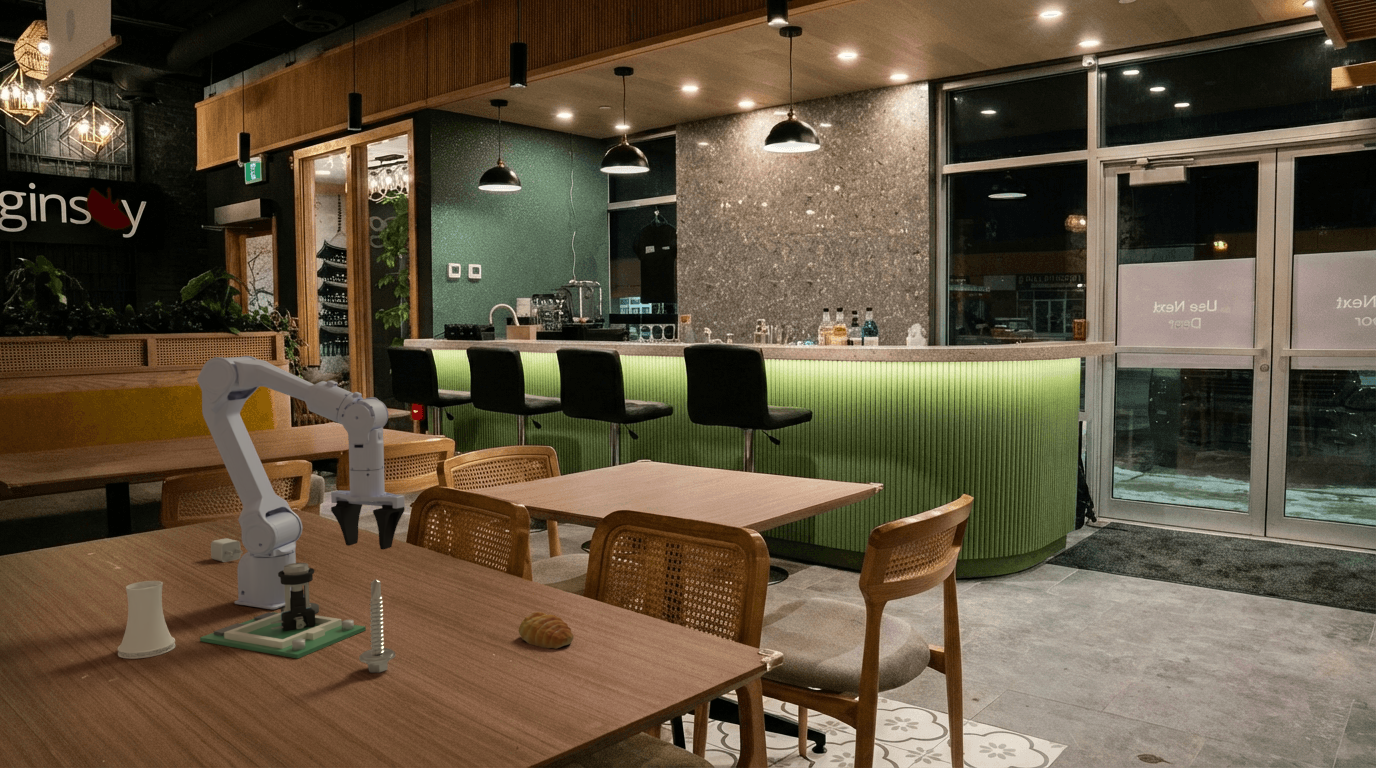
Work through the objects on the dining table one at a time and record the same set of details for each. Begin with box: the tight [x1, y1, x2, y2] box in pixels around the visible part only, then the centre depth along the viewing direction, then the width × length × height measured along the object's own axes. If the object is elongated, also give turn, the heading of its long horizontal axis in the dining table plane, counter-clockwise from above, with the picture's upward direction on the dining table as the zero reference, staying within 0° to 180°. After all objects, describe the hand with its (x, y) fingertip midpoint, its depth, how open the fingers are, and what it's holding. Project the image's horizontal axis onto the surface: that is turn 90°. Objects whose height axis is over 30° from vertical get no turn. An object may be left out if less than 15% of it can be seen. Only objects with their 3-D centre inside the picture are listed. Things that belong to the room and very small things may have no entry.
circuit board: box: [199, 611, 367, 659], centre depth 147 cm, size 20×14×2 cm
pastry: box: [518, 611, 574, 649], centre depth 144 cm, size 9×7×4 cm
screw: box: [358, 578, 396, 674], centre depth 132 cm, size 13×5×5 cm
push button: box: [271, 562, 316, 631], centre depth 149 cm, size 7×5×10 cm
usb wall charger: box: [210, 538, 244, 563], centre depth 196 cm, size 4×7×4 cm, turn 54°
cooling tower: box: [117, 580, 176, 660], centre depth 141 cm, size 8×8×10 cm
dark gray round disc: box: [280, 602, 320, 615], centre depth 159 cm, size 6×6×1 cm
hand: (368, 546), depth 163 cm, fingers open, 7 cm apart
